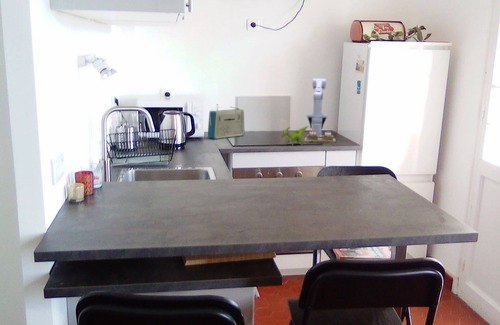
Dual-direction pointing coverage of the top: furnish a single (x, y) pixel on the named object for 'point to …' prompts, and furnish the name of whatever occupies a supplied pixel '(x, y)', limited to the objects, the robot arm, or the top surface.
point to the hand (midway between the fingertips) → (316, 128)
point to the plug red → (312, 133)
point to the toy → (295, 135)
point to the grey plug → (327, 133)
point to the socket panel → (316, 139)
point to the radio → (226, 123)
